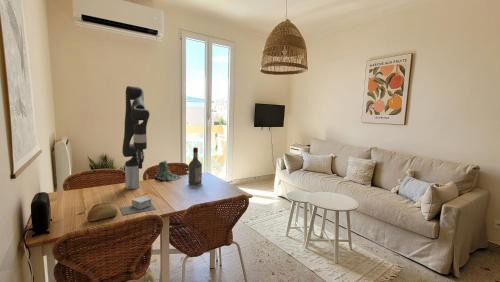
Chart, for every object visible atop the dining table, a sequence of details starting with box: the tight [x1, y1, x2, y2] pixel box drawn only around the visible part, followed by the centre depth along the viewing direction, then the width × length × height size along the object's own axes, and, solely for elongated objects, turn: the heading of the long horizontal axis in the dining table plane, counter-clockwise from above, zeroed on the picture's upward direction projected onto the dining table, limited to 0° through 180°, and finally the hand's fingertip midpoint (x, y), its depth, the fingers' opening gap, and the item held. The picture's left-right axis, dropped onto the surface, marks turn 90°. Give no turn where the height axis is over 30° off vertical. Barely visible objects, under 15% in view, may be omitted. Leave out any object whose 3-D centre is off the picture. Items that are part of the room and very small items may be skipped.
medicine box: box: [131, 195, 152, 209], centre depth 154 cm, size 8×4×9 cm
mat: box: [119, 202, 157, 216], centre depth 151 cm, size 12×18×1 cm, turn 125°
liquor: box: [187, 146, 203, 186], centre depth 201 cm, size 9×9×30 cm
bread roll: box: [86, 202, 119, 222], centre depth 136 cm, size 10×15×8 cm, turn 139°
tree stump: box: [155, 160, 181, 182], centre depth 214 cm, size 18×20×18 cm
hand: (140, 168), depth 156 cm, fingers closed
